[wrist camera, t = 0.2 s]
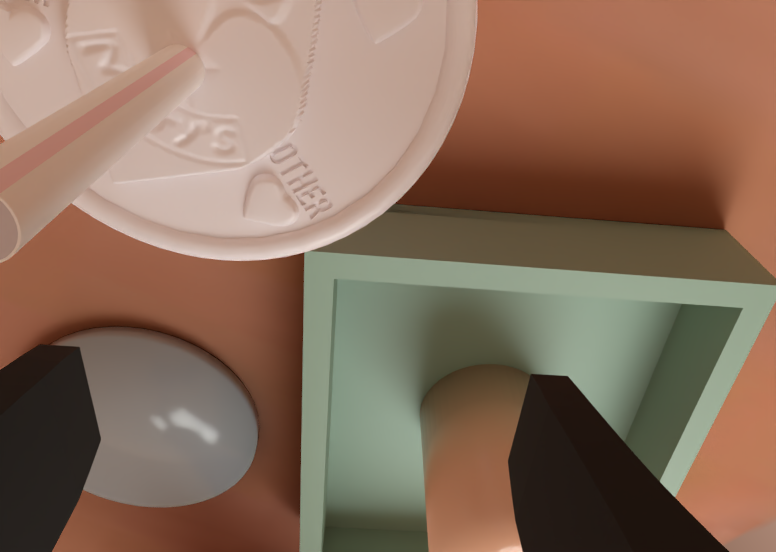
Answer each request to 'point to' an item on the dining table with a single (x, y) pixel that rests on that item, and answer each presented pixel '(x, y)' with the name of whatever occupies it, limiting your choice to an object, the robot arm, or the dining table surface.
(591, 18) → the dining table surface
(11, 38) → the smoothie
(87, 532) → the dining table surface
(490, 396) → the salmon pink cylinder
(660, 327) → the pale green open box
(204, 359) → the saucer
